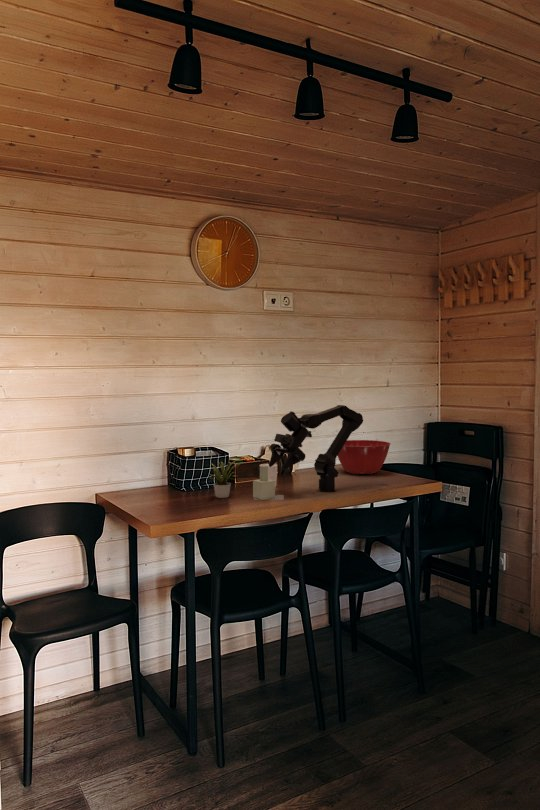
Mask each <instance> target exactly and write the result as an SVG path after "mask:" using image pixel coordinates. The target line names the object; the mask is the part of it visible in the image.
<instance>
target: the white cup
mask: <svg viewBox="0 0 540 810" xmlns="http://www.w3.org/2000/svg"><path fill="white" fill-rule="evenodd" d="M263 465H265V466H268V479H269V480H273V481H275V488H276V487H277V479H278V477H277V476H278V464H277V463H275V464H274V465H273V466H271V467H269V463H262V464H259V467H260V466H263Z"/></svg>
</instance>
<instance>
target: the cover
mask: <svg viewBox="0 0 540 810" xmlns="http://www.w3.org/2000/svg"><path fill="white" fill-rule="evenodd" d="M275 495H276V487H275V481H273V480H269V479H268V466H265V465H263V466H260V465H259V479H252V497H253V499H254V498H257V499H261V500H260V501H266V500H265V499H271V498H275Z"/></svg>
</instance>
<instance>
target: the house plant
mask: <svg viewBox="0 0 540 810" xmlns="http://www.w3.org/2000/svg"><path fill="white" fill-rule="evenodd" d="M234 463H235V461H232V462H230V463H227V464H226V466H225V463H224V462H223V461H220V462H218V464H219V466H220V469H219V468H218V467H217V466H216V465H214V463H211V462H210V464H211V465H212V466H213V468H212V467H211V469H212V470H213V474H210V473H209V474H208V475H209V476H211V477H210V480H214V481H215V483H213V489H214V494H215V498H219V499H223V498H229V497H230V491H231V484H232V483H231V482H228V481H229V480H234V479H235V478H236V475H233V474H234V471H233V472H232V470H233V469H234V468H235V467H236V466H239V465H241V464H240V463H239V464H235V465H233V464H234ZM232 465H233V466H232ZM231 466H232V467H231ZM220 470H221V472H220ZM232 475H233V477H235V478H233V477H232Z"/></svg>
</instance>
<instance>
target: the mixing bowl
mask: <svg viewBox="0 0 540 810" xmlns="http://www.w3.org/2000/svg"><path fill="white" fill-rule="evenodd" d="M390 446H391V443H390V442H389V441H383V440H369V439H351V440H349V439H347V441H346V443H345V444H344V446H343V447H342V449H341V451H340V452H339V454H338V455H337V458H338V461H339V463H340V465H341V466H342V468H343V470H344V471H346V472H349V473H348V474H350V473H352V474H351V475H355V474H370V475H373V474H372V473H375V474H376V473H377V472H379V471H380V470H381V468H382V467H383V465H384V463H385V460H386V459H387V456H388V453H389V450H390Z"/></svg>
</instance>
